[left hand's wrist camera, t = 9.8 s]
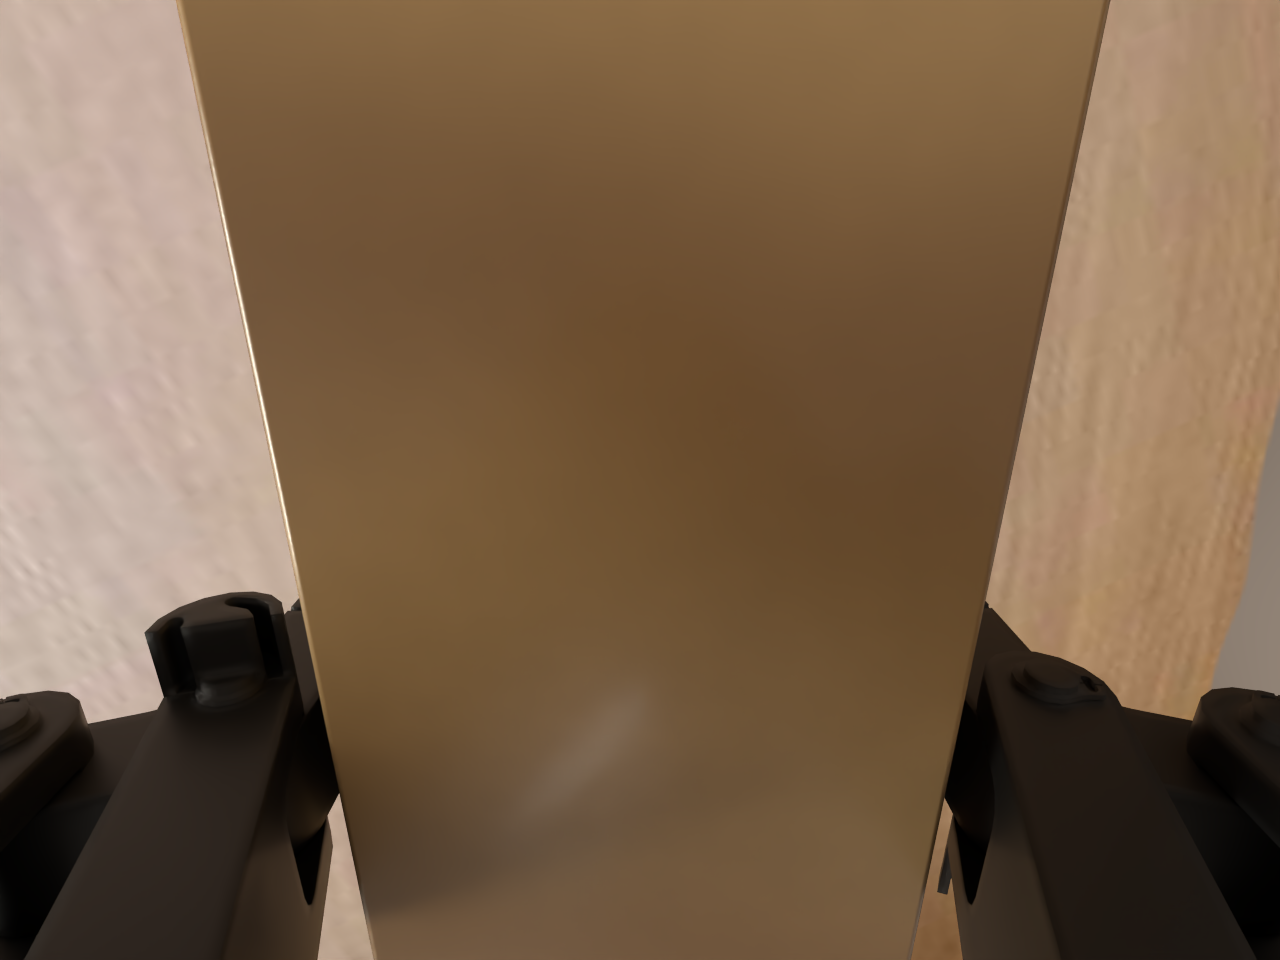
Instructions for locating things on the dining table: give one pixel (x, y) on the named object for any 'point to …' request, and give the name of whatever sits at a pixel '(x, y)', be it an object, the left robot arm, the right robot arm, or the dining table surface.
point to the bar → (642, 436)
